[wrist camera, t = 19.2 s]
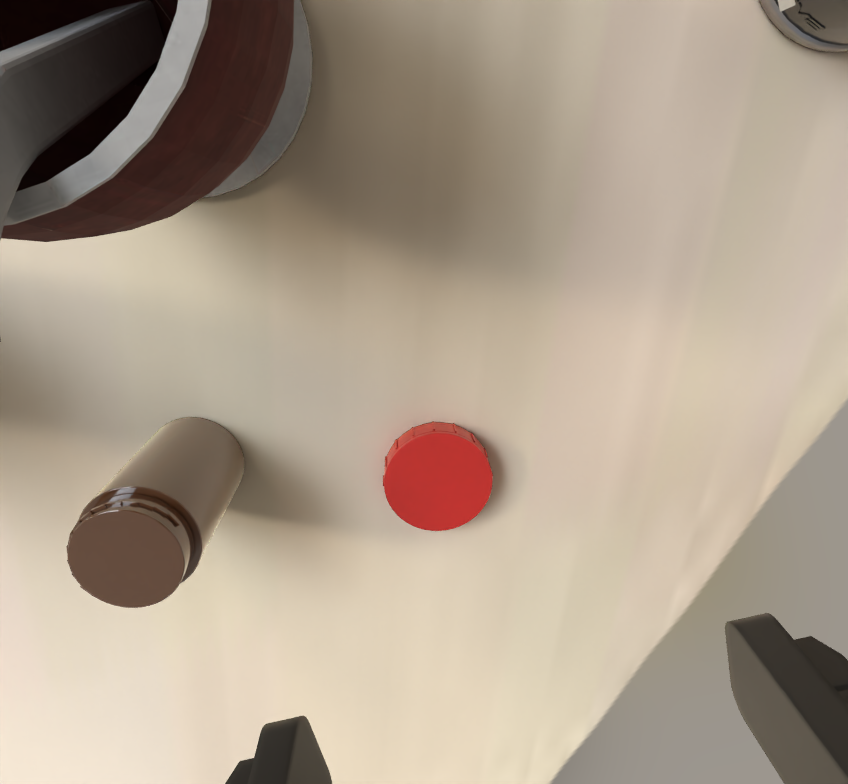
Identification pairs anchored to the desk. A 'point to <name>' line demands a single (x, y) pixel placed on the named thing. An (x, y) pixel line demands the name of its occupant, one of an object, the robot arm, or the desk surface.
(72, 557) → the jar
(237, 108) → the mate gourd
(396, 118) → the desk surface
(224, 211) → the desk surface
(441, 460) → the lid
